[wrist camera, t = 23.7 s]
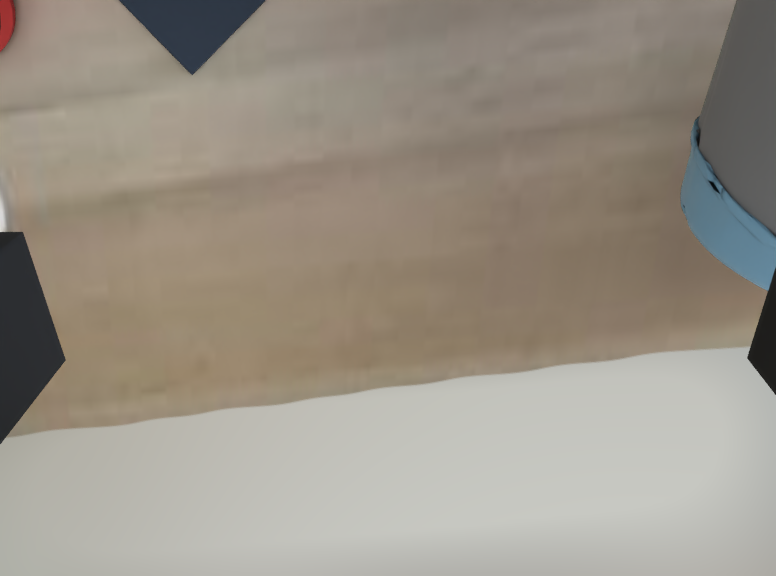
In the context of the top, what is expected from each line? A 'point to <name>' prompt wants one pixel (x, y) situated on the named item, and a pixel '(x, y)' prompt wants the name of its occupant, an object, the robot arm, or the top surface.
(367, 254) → the top surface
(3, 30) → the canned food
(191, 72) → the felt mat
